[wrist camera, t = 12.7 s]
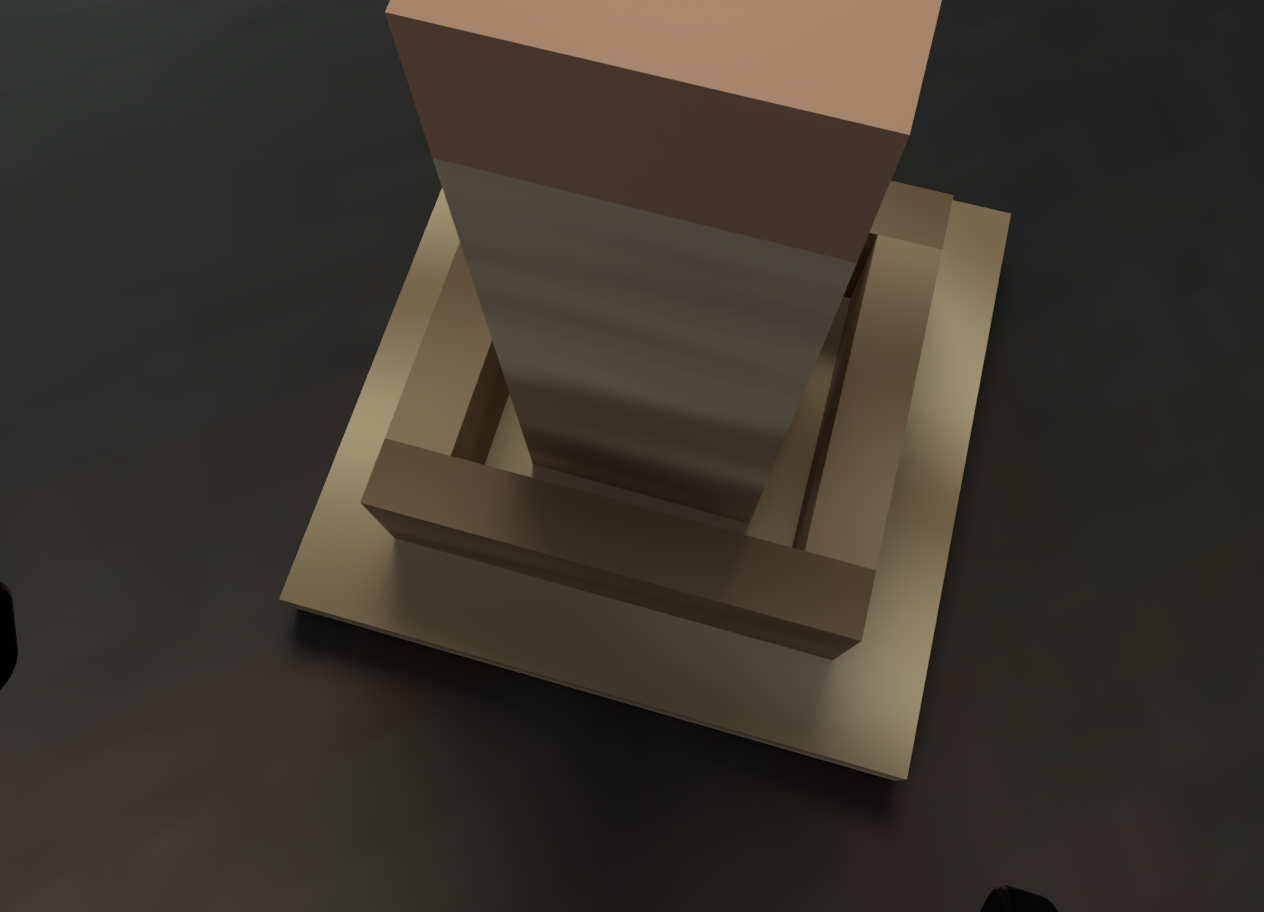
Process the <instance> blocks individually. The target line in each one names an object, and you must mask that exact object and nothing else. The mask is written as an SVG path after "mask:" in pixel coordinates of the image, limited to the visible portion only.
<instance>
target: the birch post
mask: <svg viewBox="0 0 1264 912" xmlns="http://www.w3.org/2000/svg"><path fill="white" fill-rule="evenodd" d="M941 1H942V0H390V2H389V4H388V7H387V9H386V11H385V14H386V17H387V20H388V23H389V26H390V29H391V32H392V35H393V38H394V41H395V44H396V47H397V50H398V53H399V57H400V60H401V63H402V66H403V69H404V72H405V75H406V78H407V81H408V84H409V87H410V90H411V93H412V96H413V99H414V102H415V105H416V109H417V112H418V115H419V118H420V121H421V124H422V127H423V130H424V133H425V136H426V139H427V142H428V145H429V148H430V151H431V154H432V157H433V161H434V164H435V167H436V170H437V173H438V176H439V179H440V182H441V185H442V188H443V191H444V194H445V197H446V200H447V203H448V206H449V209H450V213H451V216H452V219H453V222H454V225H455V228H456V231H457V234H458V237H459V240H460V243H461V246H462V249H463V252H464V255H465V258H466V261H467V265H468V268H469V271H470V274H471V277H472V280H473V283H474V286H475V289H476V292H477V295H478V298H479V301H480V304H481V307H482V310H483V313H484V317H485V320H486V323H487V326H488V329H489V332H490V335H491V338H492V341H493V344H494V347H495V350H496V353H497V356H498V359H499V362H500V366H501V369H502V372H503V375H504V378H505V381H506V384H507V387H508V390H509V393H510V396H511V399H512V402H513V405H514V408H515V411H516V414H517V418H518V421H519V424H520V427H521V430H522V433H523V436H524V439H525V442H526V445H527V448H528V451H529V454H530V457H531V460H532V463H533V464H534V465H538V466H542V467H545V468H549V469H553V470H556V471H560V472H563V473H567V474H571V475H574V476H578V477H581V478H585V479H589V480H592V481H596V482H600V483H603V484H607V485H610V486H614V487H618V488H621V489H625V490H628V491H632V492H636V493H639V494H643V495H647V496H650V497H654V498H657V499H661V500H665V501H668V502H672V503H676V504H679V505H683V506H686V507H690V508H694V509H697V510H701V511H704V512H708V513H712V514H715V515H719V516H723V517H726V518H730V519H733V520H737V521H741V522H744V523H748V524H750V521H751V519H752V517H753V514H754V512H755V509H756V507H757V504H758V502H759V500H760V497H761V495H762V492H763V490H764V487H765V485H766V483H767V480H768V478H769V475H770V473H771V470H772V468H773V466H774V463H775V461H776V458H777V456H778V453H779V451H780V448H781V446H782V444H783V441H784V439H785V436H786V434H787V431H788V429H789V427H790V424H791V422H792V419H793V417H794V414H795V412H796V410H797V407H798V405H799V402H800V400H801V397H802V395H803V393H804V390H805V388H806V385H807V383H808V380H809V378H810V376H811V373H812V371H813V368H814V366H815V363H816V361H817V359H818V356H819V354H820V351H821V349H822V346H823V344H824V342H825V339H826V337H827V334H828V332H829V329H830V327H831V325H832V322H833V320H834V317H835V315H836V312H837V310H838V308H839V305H840V303H841V300H842V298H843V295H844V293H845V291H846V288H847V286H848V283H849V281H850V278H851V276H852V274H853V271H854V269H855V266H856V264H857V261H858V259H859V257H860V254H861V252H862V249H863V247H864V244H865V242H866V240H867V237H868V235H869V232H870V230H871V227H872V225H873V223H874V220H875V218H876V215H877V213H878V210H879V208H880V205H881V203H882V201H883V198H884V196H885V193H886V191H887V188H888V186H889V184H890V181H891V179H892V176H893V174H894V171H895V169H896V167H897V164H898V162H899V159H900V157H901V154H902V152H903V150H904V147H905V145H906V142H907V140H908V137H909V135H910V131H911V127H912V123H913V118H914V114H915V110H916V106H917V102H918V97H919V93H920V89H921V85H922V81H923V76H924V72H925V68H926V64H927V60H928V55H929V51H930V47H931V43H932V39H933V34H934V30H935V26H936V22H937V18H938V13H939V9H940V5H941Z"/></svg>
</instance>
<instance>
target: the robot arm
mask: <svg viewBox="0 0 1264 912" xmlns="http://www.w3.org/2000/svg"><path fill="white" fill-rule="evenodd" d="M17 657H18V647H17V637H16V628H15V618H14V608H13V599H12V594H11V592H10V590H9V589H8V587H7V586H6V585H5V584H3V583H2V582H0V690H1V689H2V687H3V686H4V685H5V684H6V682H7V681H8V679H9V678H10V676H11V674H12V672H13V671H14V668H15V665H16V662H17ZM980 912H1058V910H1057V909H1056V908H1055V906H1054V905H1053V904H1052V903H1051V902H1050V901H1049V900H1048V899H1046V898H1044V897H1042V896H1040V895H1037V894H1033V893H1030V892H1027V891H1024V890H1020V889H1017V888H1014V887H1010V886H1007V885H1000V886H997V887H996V888H994V889H993V890H992V891H991V893H990V894H989V896H988V897H987V899H986V901H985V903H984V905H983V907H982V909H981V911H980Z"/></svg>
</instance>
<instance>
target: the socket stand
mask: <svg viewBox="0 0 1264 912" xmlns="http://www.w3.org/2000/svg"><path fill="white" fill-rule="evenodd" d="M1010 216H1011V214H1010V213H1005V212H1001V211H997V210H993V209H988V208H984V207H980V206H975V205H971V204H967V203H962V202H958V201H954V200H953V195H950V194H946V193H941V192H937V191H933V190H928V189H924V188H920V187H915V186H911V185H907V184H902V183H898V182H894V181H890V184H889V186H888V188H887V191H886V193H885V196H884V198H883V201H882V203H881V205H880V208H879V210H878V213H877V215H876V218H875V220H874V223H873V225H872V227H871V230H870V232H869V235H868V237H867V240H866V242H865V244H864V247H863V249H862V252H861V254H860V257H859V259H858V261H857V264H856V266H855V269H854V271H853V274H852V276H851V278H850V281H849V283H848V286H847V288H846V291H845V293H844V295H843V298H842V300H841V303H840V305H839V308H838V310H837V312H836V315H835V317H834V320H833V322H832V325H831V327H830V329H829V332H828V334H827V337H826V339H825V342H824V344H823V346H822V349H821V351H820V354H819V356H818V359H817V361H816V363H815V366H814V368H813V371H812V373H811V376H810V378H809V380H808V383H807V385H806V388H805V390H804V393H803V395H802V397H801V400H800V402H799V405H798V407H797V410H796V412H795V414H794V417H793V419H792V422H791V424H790V427H789V429H788V431H787V434H786V436H785V439H784V441H783V444H782V446H781V448H780V451H779V453H778V456H777V458H776V461H775V463H774V466H773V468H772V470H771V473H770V475H769V478H768V480H767V483H766V485H765V487H764V490H763V492H762V495H761V497H760V500H759V502H758V504H757V507H756V509H755V512H754V514H753V517H752V519H751V521H750V524H748V523H744V522H741V521H737V520H733V519H730V518H726V517H723V516H719V515H715V514H712V513H708V512H704V511H701V510H697V509H694V508H690V507H686V506H683V505H679V504H676V503H672V502H668V501H665V500H661V499H657V498H654V497H650V496H647V495H643V494H639V493H636V492H632V491H628V490H625V489H621V488H618V487H614V486H610V485H607V484H603V483H600V482H596V481H592V480H589V479H585V478H581V477H578V476H574V475H571V474H567V473H563V472H560V471H556V470H553V469H549V468H545V467H542V466H538V465H534V464H533V463H532V460H531V457H530V454H529V451H528V448H527V445H526V442H525V439H524V436H523V433H522V430H521V427H520V424H519V421H518V418H517V414H516V411H515V408H514V405H513V402H512V399H511V396H510V393H509V390H508V387H507V384H506V381H505V378H504V375H503V372H502V369H501V366H500V362H499V359H498V356H497V353H496V350H495V347H494V344H493V341H492V338H491V335H490V332H489V329H488V326H487V323H486V320H485V317H484V313H483V310H482V307H481V304H480V301H479V298H478V295H477V292H476V289H475V286H474V283H473V280H472V277H471V274H470V271H469V268H468V265H467V261H466V258H465V255H464V252H463V249H462V246H461V243H460V240H459V237H458V234H457V231H456V228H455V225H454V222H453V219H452V216H451V213H450V209H449V206H448V203H447V200H446V197H445V194H444V191H443V188H442V189H441V192H440V195H439V197H438V200H437V202H436V205H435V207H434V210H433V212H432V215H431V217H430V220H429V222H428V225H427V227H426V230H425V232H424V235H423V237H422V240H421V242H420V245H419V248H418V250H417V253H416V255H415V258H414V260H413V263H412V265H411V268H410V270H409V273H408V275H407V278H406V280H405V283H404V285H403V288H402V290H401V293H400V295H399V298H398V301H397V303H396V306H395V308H394V311H393V313H392V316H391V318H390V321H389V323H388V326H387V328H386V331H385V333H384V336H383V338H382V341H381V343H380V346H379V349H378V351H377V354H376V356H375V359H374V361H373V364H372V366H371V369H370V371H369V374H368V376H367V379H366V381H365V384H364V386H363V389H362V391H361V394H360V396H359V399H358V402H357V404H356V407H355V409H354V412H353V414H352V417H351V419H350V422H349V424H348V427H347V429H346V432H345V434H344V437H343V439H342V442H341V444H340V447H339V449H338V452H337V455H336V457H335V460H334V462H333V465H332V467H331V470H330V472H329V475H328V477H327V480H326V482H325V485H324V487H323V490H322V492H321V495H320V497H319V500H318V503H317V505H316V508H315V510H314V513H313V515H312V518H311V520H310V523H309V525H308V528H307V530H306V533H305V535H304V538H303V540H302V543H301V545H300V548H299V550H298V553H297V556H296V558H295V561H294V563H293V566H292V568H291V571H290V573H289V576H288V578H287V581H286V583H285V586H284V588H283V591H282V593H281V596H280V598H279V599H280V600H282V601H284V602H285V603H287V604H289V605H291V606H293V607H295V608H297V609H300V610H304V611H307V612H311V613H314V614H318V615H321V616H325V617H328V618H332V619H335V620H338V621H342V622H345V623H349V624H352V625H356V626H359V627H363V628H366V629H370V630H373V631H377V632H380V633H384V634H387V635H391V636H394V637H397V638H401V639H404V640H408V641H411V642H415V643H418V644H422V645H425V646H429V647H432V648H436V649H439V650H443V651H446V652H450V653H453V654H456V655H460V656H463V657H467V658H470V659H474V660H477V661H481V662H484V663H488V664H491V665H495V666H498V667H502V668H505V669H509V670H512V671H515V672H519V673H522V674H526V675H529V676H533V677H536V678H540V679H543V680H547V681H550V682H554V683H557V684H561V685H564V686H567V687H571V688H574V689H578V690H581V691H585V692H588V693H592V694H595V695H599V696H602V697H606V698H609V699H613V700H616V701H620V702H623V703H626V704H630V705H633V706H637V707H640V708H644V709H647V710H651V711H654V712H658V713H661V714H665V715H668V716H672V717H675V718H679V719H682V720H685V721H689V722H692V723H696V724H699V725H703V726H706V727H710V728H713V729H717V730H720V731H724V732H727V733H731V734H734V735H738V736H741V737H744V738H748V739H751V740H755V741H758V742H762V743H765V744H769V745H772V746H776V747H779V748H783V749H786V750H790V751H793V752H797V753H800V754H803V755H807V756H810V757H814V758H817V759H821V760H824V761H828V762H831V763H835V764H838V765H842V766H845V767H849V768H852V769H855V770H859V771H862V772H866V773H869V774H873V775H876V776H880V777H883V778H887V779H890V780H907V777H908V771H909V766H910V760H911V755H912V749H913V744H914V739H915V733H916V728H917V722H918V717H919V711H920V706H921V700H922V695H923V690H924V684H925V679H926V673H927V668H928V662H929V657H930V651H931V646H932V641H933V635H934V630H935V624H936V619H937V613H938V608H939V602H940V597H941V592H942V586H943V581H944V575H945V570H946V564H947V559H948V553H949V548H950V543H951V537H952V532H953V526H954V521H955V515H956V510H957V504H958V499H959V494H960V488H961V483H962V477H963V472H964V466H965V461H966V455H967V450H968V445H969V439H970V434H971V428H972V423H973V417H974V412H975V406H976V401H977V395H978V390H979V385H980V379H981V374H982V368H983V363H984V357H985V352H986V346H987V341H988V336H989V330H990V325H991V319H992V314H993V308H994V303H995V297H996V292H997V287H998V281H999V276H1000V270H1001V265H1002V259H1003V254H1004V248H1005V243H1006V238H1007V232H1008V227H1009V221H1010Z"/></svg>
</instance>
